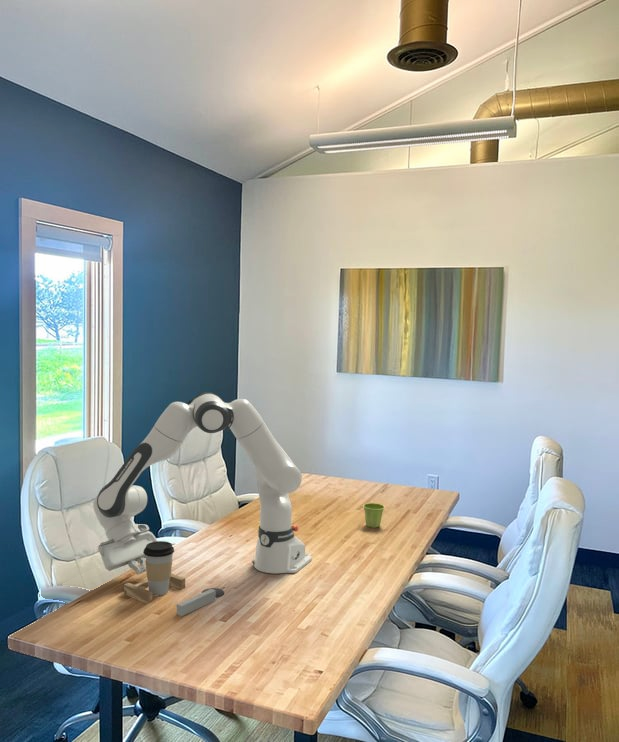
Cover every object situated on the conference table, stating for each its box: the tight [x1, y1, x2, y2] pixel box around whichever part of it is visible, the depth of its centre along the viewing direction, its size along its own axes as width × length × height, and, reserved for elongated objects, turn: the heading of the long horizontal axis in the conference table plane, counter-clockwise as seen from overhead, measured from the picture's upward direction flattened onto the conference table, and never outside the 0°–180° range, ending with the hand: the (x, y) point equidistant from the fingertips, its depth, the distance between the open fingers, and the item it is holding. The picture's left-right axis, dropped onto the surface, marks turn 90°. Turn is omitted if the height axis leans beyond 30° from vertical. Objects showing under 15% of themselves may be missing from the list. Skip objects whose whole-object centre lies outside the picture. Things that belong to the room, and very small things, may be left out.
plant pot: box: [362, 502, 386, 528], centre depth 269 cm, size 9×9×9 cm
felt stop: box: [176, 588, 216, 617], centre depth 186 cm, size 14×2×3 cm, turn 145°
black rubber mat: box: [201, 587, 225, 598], centre depth 196 cm, size 7×7×1 cm
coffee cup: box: [143, 540, 175, 597], centre depth 195 cm, size 9×9×15 cm
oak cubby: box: [123, 572, 186, 605], centre depth 196 cm, size 15×11×3 cm
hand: (142, 572), depth 200 cm, fingers closed
